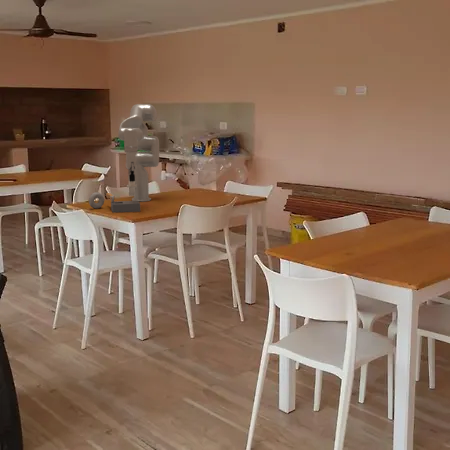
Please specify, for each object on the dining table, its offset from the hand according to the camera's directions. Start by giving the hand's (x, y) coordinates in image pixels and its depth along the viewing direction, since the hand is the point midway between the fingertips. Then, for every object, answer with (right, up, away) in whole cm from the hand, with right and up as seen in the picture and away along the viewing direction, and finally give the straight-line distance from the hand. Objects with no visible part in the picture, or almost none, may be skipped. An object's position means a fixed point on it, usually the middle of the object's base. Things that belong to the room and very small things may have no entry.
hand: (131, 180), depth 364 cm
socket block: (-4, -18, +3) cm, 18 cm away
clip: (-14, -10, +8) cm, 19 cm away
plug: (0, -9, +2) cm, 9 cm away
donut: (-22, -17, +9) cm, 29 cm away
